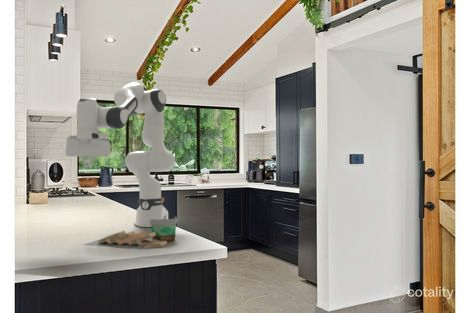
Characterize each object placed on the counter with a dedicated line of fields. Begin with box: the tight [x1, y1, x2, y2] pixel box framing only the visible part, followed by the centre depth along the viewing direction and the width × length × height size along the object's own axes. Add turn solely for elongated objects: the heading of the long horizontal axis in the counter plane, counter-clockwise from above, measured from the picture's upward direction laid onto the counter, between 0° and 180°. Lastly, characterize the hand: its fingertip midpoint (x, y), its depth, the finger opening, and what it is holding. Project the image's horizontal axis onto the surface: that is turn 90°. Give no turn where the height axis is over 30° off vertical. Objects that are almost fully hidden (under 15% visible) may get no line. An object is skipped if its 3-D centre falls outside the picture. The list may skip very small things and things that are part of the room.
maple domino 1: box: [97, 230, 127, 244], centre depth 170 cm, size 2×5×10 cm
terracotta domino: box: [117, 231, 146, 245], centre depth 167 cm, size 2×5×10 cm
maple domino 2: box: [108, 230, 137, 244], centre depth 169 cm, size 2×5×10 cm
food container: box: [150, 216, 179, 243], centre depth 173 cm, size 12×6×10 cm, turn 126°
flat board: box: [83, 239, 145, 249], centre depth 169 cm, size 10×26×1 cm, turn 75°
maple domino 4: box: [138, 239, 168, 249], centre depth 165 cm, size 2×5×10 cm
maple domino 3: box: [128, 232, 156, 246], centre depth 166 cm, size 2×5×10 cm
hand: (87, 167), depth 180 cm, fingers closed
